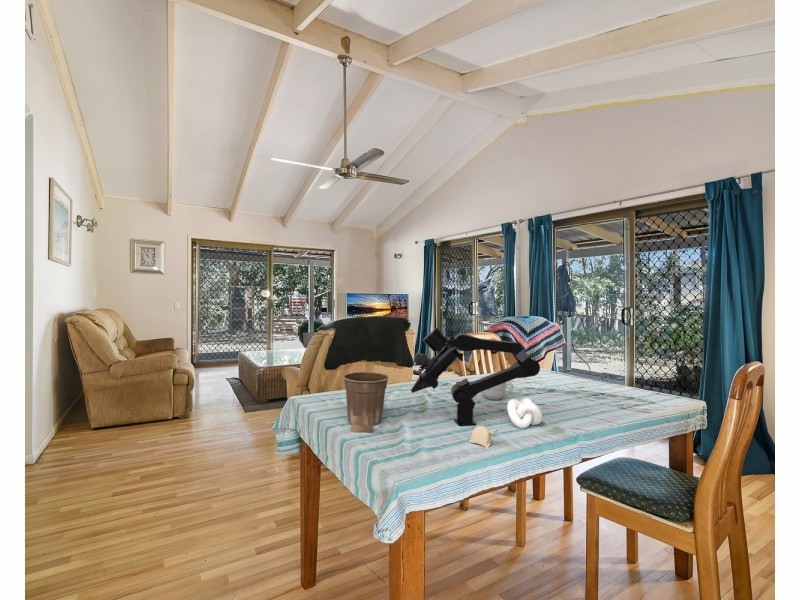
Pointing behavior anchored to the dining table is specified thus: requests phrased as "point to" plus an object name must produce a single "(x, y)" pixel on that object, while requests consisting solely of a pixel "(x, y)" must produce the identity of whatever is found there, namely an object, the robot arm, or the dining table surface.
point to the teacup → (497, 391)
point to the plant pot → (365, 394)
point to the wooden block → (362, 423)
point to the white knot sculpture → (524, 412)
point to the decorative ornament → (482, 436)
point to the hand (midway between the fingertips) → (411, 391)
